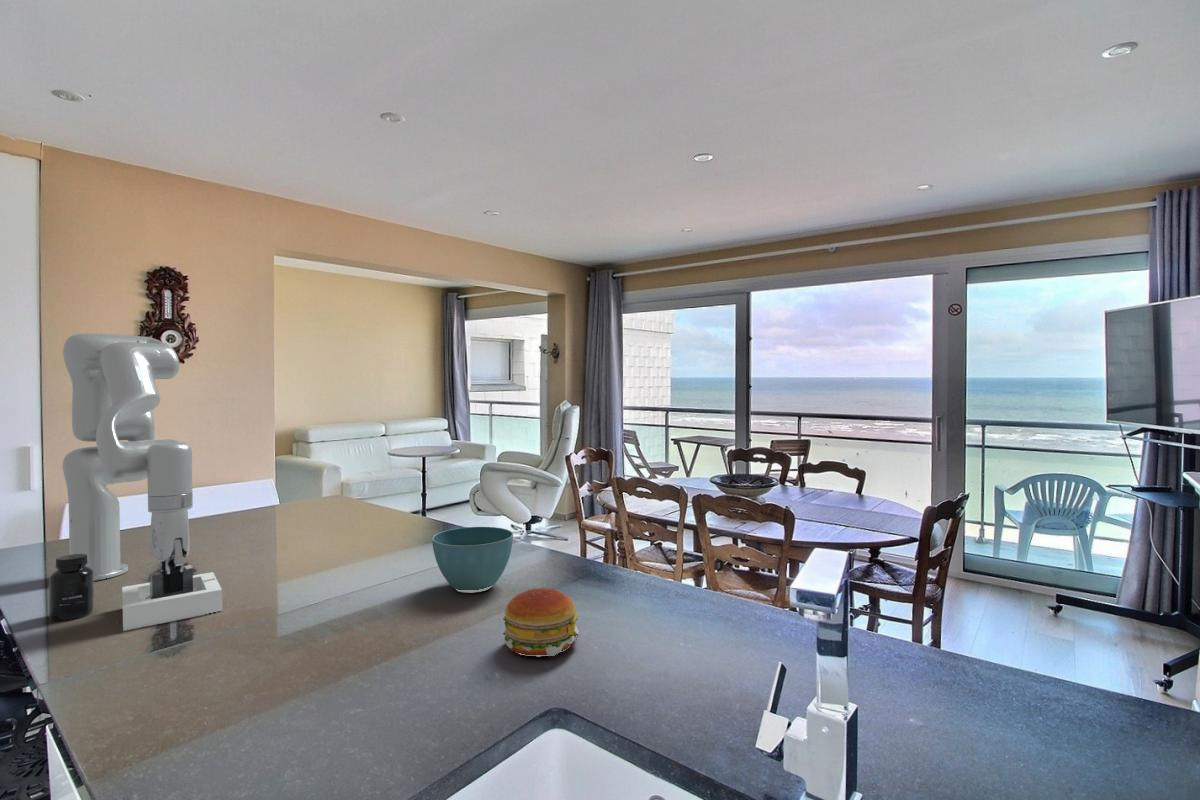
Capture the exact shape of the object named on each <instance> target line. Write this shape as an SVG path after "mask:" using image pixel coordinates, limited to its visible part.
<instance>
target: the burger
mask: <svg viewBox="0 0 1200 800" xmlns="http://www.w3.org/2000/svg"><path fill="white" fill-rule="evenodd" d="M578 617H579V614H577V613H576V606H575V603H574V602H573V600H572V599H571V598H570V597H569V596H568V595H567V594H565V593H564V592H562V591H560V590H557V589H556V590H555V589H553V588H547V587H546V588H545V587H540V588H538V587H537V588H532V589H528V590H525V591H522V592H520V593H518V594H517V595H515V596H514V597H512V598H511V599H510V601H509V602H508V604H507V605H506V606H505V611H504V617H503V618H502V620H503V621H504V629H505V630H504V632H502V634H503V635H504V641H505V645H506V646H507V647H508V648H509V650H510V649H512V650H513V651H515V652H517V653H521V654H525V655H549V657H550V656H554V655H556V654H557V655H559V654H558V652H560V651H563V650H565V649H567V648H568V647H569V646H570V647H571V646H572V645H571V644H573V643H574V642H575V641H578V638H579V632H580V631H579V629H578V625H576V624H577V623H576V622H577V621H578V620H579V619H578ZM576 635H577V636H576ZM513 651H512V652H513ZM557 655H556V656H557Z"/></svg>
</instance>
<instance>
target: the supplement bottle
mask: <svg viewBox="0 0 1200 800" xmlns="http://www.w3.org/2000/svg"><path fill="white" fill-rule="evenodd" d="M87 564H88V561H87V555H86V554H72V555H70V554H67V555H62V556H59V557H56V558H55V565H54V566H55V569H56V570H55V571H54V572H52V573H51V574H50V576H49V577H48V618H49V619H50V621H54V622H64V621H63V620H66V621H72V620H71V619H73V620H77V619H80V618H79V617H81V618H83V616H84V617H87V616H88V614H89V615H91V614H92V613H93V611H94V603H95V602H94V601H95V600H94V596H95V595H94V592H95V591H94V590H95V589H94V588H95V587H94V584H95V583H94V582H95V581H94V572H93V570H92V569H91V568H90V567H87V566H86V565H87ZM86 615H87V616H86ZM76 618H77V619H76Z"/></svg>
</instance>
